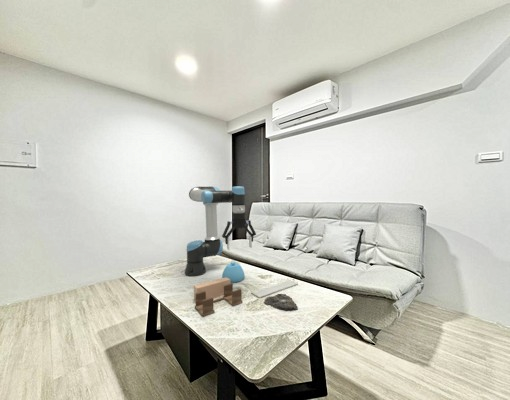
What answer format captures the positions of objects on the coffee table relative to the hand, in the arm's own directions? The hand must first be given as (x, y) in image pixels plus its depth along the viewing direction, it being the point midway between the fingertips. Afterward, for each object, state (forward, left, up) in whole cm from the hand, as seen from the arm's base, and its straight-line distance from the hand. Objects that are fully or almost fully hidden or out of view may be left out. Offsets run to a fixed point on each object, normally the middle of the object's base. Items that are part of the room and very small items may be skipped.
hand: (239, 248), depth 128 cm
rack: (+8, -18, -25) cm, 32 cm away
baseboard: (+10, +18, -26) cm, 33 cm away
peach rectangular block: (-4, -16, -26) cm, 30 cm away
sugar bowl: (-19, +6, -26) cm, 33 cm away
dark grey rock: (+26, +10, -26) cm, 38 cm away
